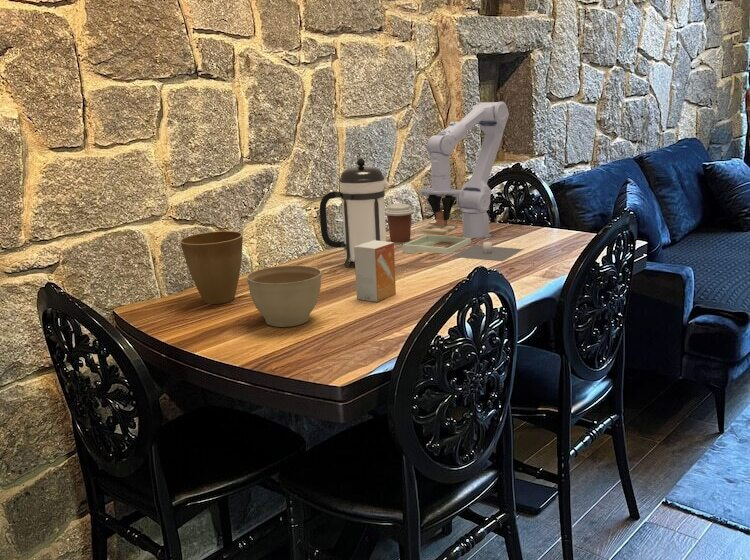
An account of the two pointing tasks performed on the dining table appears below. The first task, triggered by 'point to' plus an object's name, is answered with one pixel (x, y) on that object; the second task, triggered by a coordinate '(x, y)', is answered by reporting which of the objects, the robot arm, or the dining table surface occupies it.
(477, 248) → the stake board
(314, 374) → the dining table surface
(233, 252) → the plant pot
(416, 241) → the sage tray
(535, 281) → the dining table surface
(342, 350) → the dining table surface
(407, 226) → the coffee cup
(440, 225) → the tan square frame
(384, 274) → the small box
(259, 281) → the planter bowl
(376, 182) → the coffee press
